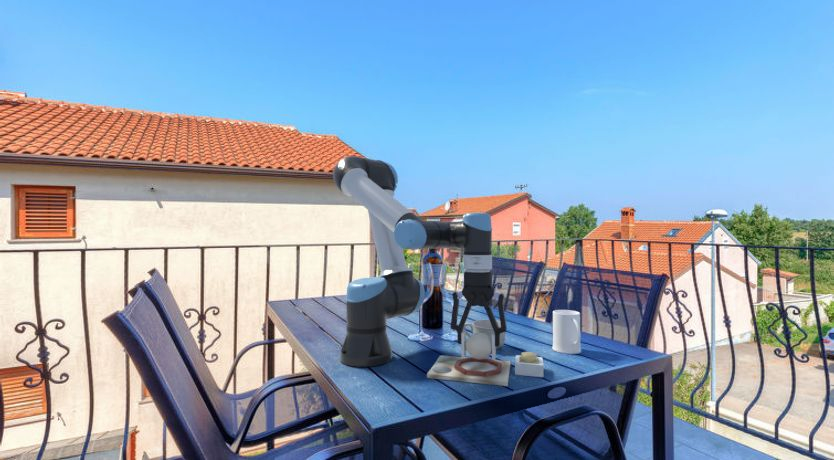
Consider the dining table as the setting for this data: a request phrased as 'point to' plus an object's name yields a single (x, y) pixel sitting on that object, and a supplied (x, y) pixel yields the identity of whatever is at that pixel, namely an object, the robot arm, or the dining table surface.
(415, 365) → the dining table surface
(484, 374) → the picture board
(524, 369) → the button housing
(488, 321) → the teacup
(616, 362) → the dining table surface
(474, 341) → the white ball
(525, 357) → the button
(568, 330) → the mug
